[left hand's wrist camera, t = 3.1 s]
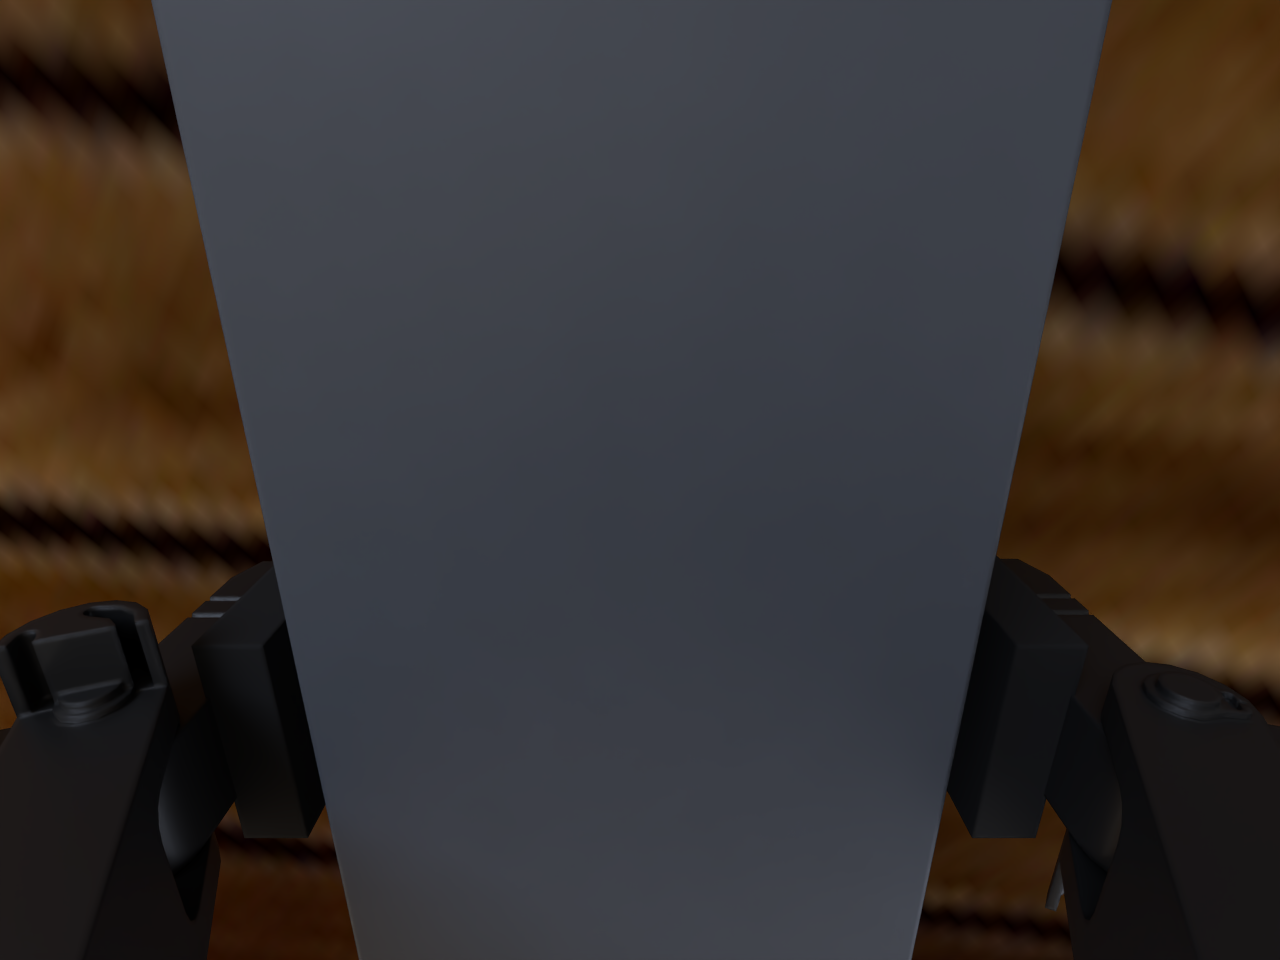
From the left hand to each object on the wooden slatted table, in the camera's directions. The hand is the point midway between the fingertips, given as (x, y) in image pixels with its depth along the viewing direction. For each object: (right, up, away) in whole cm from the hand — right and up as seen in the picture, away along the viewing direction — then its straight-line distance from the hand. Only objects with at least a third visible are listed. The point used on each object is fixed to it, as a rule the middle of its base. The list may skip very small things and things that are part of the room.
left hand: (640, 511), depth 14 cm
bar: (0, -21, +9) cm, 23 cm away
